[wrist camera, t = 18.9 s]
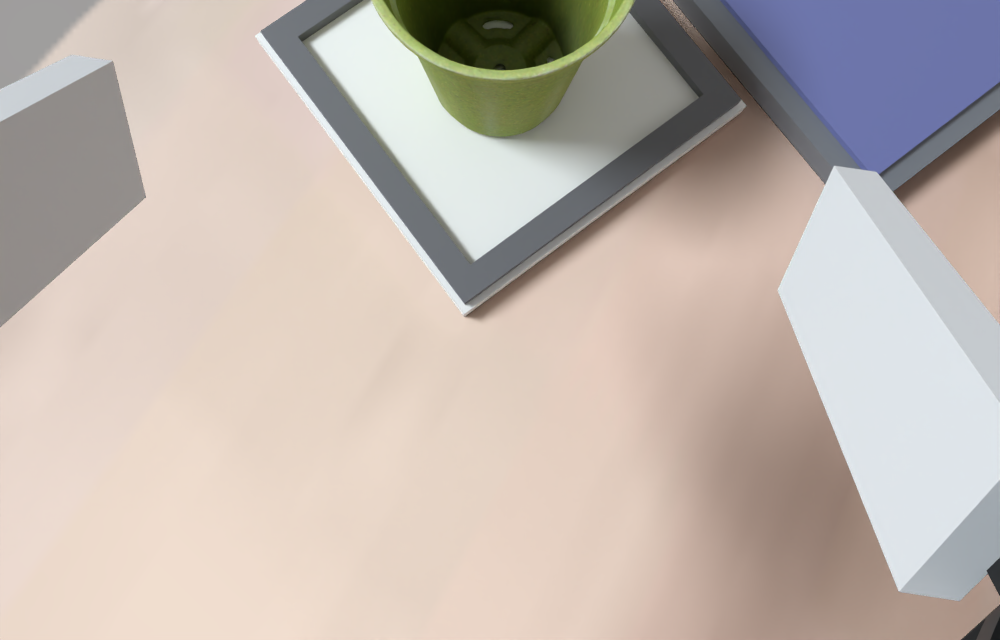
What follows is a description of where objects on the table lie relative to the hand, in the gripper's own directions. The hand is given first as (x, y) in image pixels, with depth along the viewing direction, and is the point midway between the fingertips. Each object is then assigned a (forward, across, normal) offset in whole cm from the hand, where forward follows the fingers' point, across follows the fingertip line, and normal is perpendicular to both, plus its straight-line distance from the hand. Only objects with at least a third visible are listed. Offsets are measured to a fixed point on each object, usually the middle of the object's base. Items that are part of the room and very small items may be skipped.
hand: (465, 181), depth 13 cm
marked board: (+20, -1, -5) cm, 20 cm away
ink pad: (+24, +16, -1) cm, 29 cm away
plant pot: (+19, -1, -4) cm, 20 cm away
